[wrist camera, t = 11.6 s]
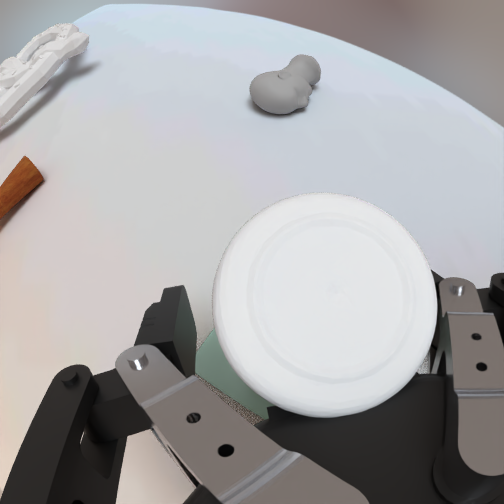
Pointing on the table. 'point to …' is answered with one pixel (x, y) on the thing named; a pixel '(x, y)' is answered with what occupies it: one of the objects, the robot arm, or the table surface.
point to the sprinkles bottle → (324, 305)
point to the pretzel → (36, 66)
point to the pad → (227, 376)
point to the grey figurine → (286, 86)
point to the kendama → (18, 184)
